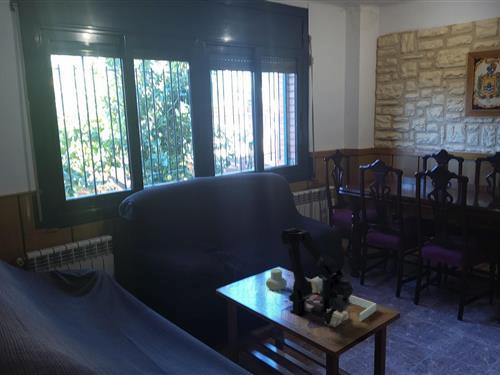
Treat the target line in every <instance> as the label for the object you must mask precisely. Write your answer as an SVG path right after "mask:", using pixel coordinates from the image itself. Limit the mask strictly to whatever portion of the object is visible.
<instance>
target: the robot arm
mask: <svg viewBox="0 0 500 375" xmlns="http://www.w3.org/2000/svg"><path fill="white" fill-rule="evenodd" d="M280 237H281V241H282V243H283V245H284V247H285V248H286V249H287V250H288V256H289V260H290V266H291V269H292V273H293V279H294V282H293V285H292V290H293V292H292V293H291V294H289V296H288V299H289V301H290V302H291V303H292V309H291V310H290V311H289V313H290V314H291V313H292V314H293V315H296V316H298V317H303V316H304V315H306V314H308V313H309V314H311V315H314V316H315V317H319V318H323V319H324V322H325V321H326V323H327V324H330V321H331V318H332V316H333V313H334V312H335V311H336V310H337V311H338V312H339V313H342V312H343V311H345V312H346V311H347V308H348V307H349V306H350V302H349V297H350V296H351V295H352V294H353V292H354V291H353V290H354V288H353V286H352V284H350V282H351V281H349V280H347V279H343V278H344V275H343V272H342V270H341V268H340V265H339V263H338V262H337V261H336V260H335V259H334V258H333V257H331V256H329V255H327V254H326V253H325V252H324V250H322V248H321V247H320V246H319V244H318V243H317V242H316V241H315V240H314V238H313V237H312V236H311V233H310V231H307V230H302V229H297V228H295V227H293V228H288V229H285V230H283V231H282V232H281V235H280ZM300 244H302V245H303V246H304V248H306V250H307V252H308V253H309V254H310V255H311V256H312V258H314V260H315V262H316V265H317V268H318V270H319V273H321V274H320V275H318V276H317V277H319V278H321V279H322V291H321V292H320V294H319V295H320V296H321V300H319V304H321V305H319V304H316V305H314V306H312V307H311V308H310V311H309V309H307V306H308V305H307V303H308V302H307V300H310V299H311V296H312V295H313V293H312V290H313V288H312V284H311V281H310V280H308V279H307V278H306V274H305V269H304V265H303V260H302V256H301V252H300ZM342 296H343V297H342ZM327 324H326V325H327Z"/></svg>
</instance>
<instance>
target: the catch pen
mask: <svg viewBox="0 0 500 375" xmlns="http://www.w3.org/2000/svg"><path fill="white" fill-rule="evenodd" d="M342 297H343V296H342ZM349 304H353V305H356V306H360V307H362V308H364V310H362V311H361V312H359V314H358V315H359V316H358V322H362V321H364V320H365V319H366V318H368V317H369V316H371V315H373V313H375V312H376V311H377V303H376V302H372V301H369V300H366V299H363V298H360V297H357V296H354V295H352V294H351V296H350V297H349Z"/></svg>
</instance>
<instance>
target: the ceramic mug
mask: <svg viewBox="0 0 500 375" xmlns="http://www.w3.org/2000/svg"><path fill="white" fill-rule="evenodd" d="M309 281H311V284H312V288H313V290H312V294H319V295H321V294H320V292H321V291H322V279H321V278H319V277H318V276H316V277H313V278H312V279H310V280H309Z"/></svg>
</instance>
